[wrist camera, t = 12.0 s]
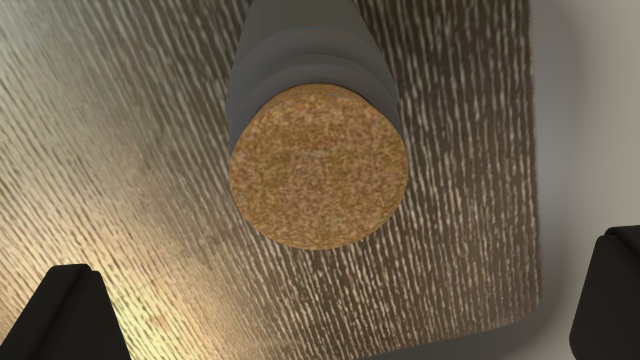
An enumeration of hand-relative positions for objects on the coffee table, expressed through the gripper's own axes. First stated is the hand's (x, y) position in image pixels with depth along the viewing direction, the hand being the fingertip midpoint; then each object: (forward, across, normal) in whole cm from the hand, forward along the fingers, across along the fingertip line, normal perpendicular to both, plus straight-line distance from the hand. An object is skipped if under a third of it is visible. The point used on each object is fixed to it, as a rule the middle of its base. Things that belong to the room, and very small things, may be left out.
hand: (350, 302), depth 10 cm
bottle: (+19, +1, 0) cm, 19 cm away
